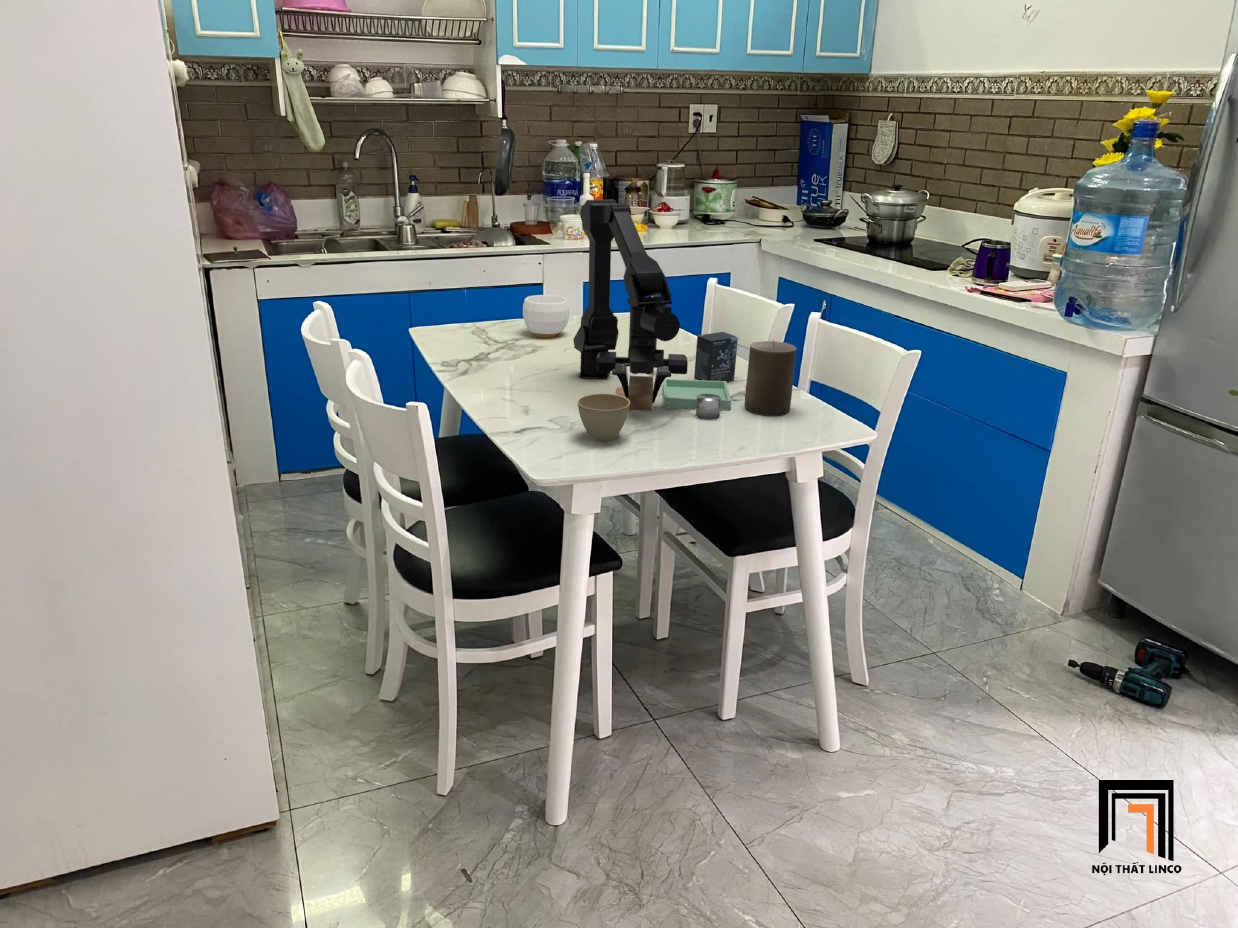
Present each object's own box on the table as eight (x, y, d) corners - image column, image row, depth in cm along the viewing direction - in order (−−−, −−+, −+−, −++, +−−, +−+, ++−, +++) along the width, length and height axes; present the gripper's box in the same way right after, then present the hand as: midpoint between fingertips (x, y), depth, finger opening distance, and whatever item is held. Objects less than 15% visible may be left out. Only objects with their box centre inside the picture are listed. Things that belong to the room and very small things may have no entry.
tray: (663, 407, 198) (664, 398, 197) (663, 387, 211) (663, 378, 210) (730, 410, 198) (731, 400, 197) (725, 390, 210) (726, 381, 210)
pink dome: (615, 398, 204) (615, 394, 204) (616, 388, 211) (616, 385, 210) (647, 399, 204) (647, 395, 204) (647, 389, 210) (647, 386, 210)
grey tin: (696, 419, 192) (697, 400, 190) (695, 411, 196) (696, 393, 195) (720, 420, 192) (721, 401, 190) (718, 412, 196) (720, 394, 195)
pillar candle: (780, 419, 193) (788, 348, 188) (736, 410, 197) (743, 341, 192) (796, 407, 201) (804, 339, 196) (753, 399, 205) (760, 332, 200)
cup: (567, 341, 246) (567, 305, 243) (520, 340, 246) (520, 303, 243) (570, 330, 258) (570, 295, 254) (525, 328, 258) (525, 293, 254)
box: (708, 385, 214) (711, 340, 210) (693, 379, 218) (696, 334, 214) (735, 380, 218) (738, 336, 214) (719, 374, 222) (722, 330, 218)
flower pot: (575, 427, 185) (576, 393, 182) (626, 427, 185) (627, 393, 183) (578, 446, 175) (578, 409, 173) (631, 445, 176) (632, 409, 174)
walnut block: (628, 410, 196) (629, 382, 193) (628, 402, 200) (629, 375, 198) (652, 411, 195) (653, 383, 193) (651, 403, 200) (653, 376, 198)
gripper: (595, 337, 184) (594, 412, 190) (690, 341, 184) (685, 416, 190) (598, 324, 195) (596, 395, 200) (688, 327, 194) (684, 399, 200)
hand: (640, 402), depth 197 cm, fingers closed on walnut block, 5 cm apart
